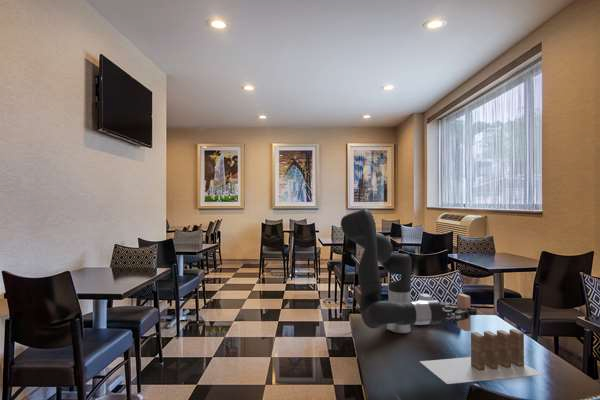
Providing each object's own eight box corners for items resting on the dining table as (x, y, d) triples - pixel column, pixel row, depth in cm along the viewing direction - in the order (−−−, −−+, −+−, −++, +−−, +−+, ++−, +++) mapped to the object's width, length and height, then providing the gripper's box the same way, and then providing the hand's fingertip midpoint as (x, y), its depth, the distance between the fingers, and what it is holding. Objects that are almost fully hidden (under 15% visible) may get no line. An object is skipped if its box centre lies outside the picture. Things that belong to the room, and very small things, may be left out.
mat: (447, 386, 108) (447, 384, 108) (419, 363, 123) (419, 361, 123) (543, 376, 114) (543, 374, 114) (505, 355, 130) (505, 353, 130)
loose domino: (465, 331, 116) (464, 296, 116) (457, 327, 120) (457, 293, 120) (470, 330, 116) (470, 296, 116) (462, 326, 120) (462, 293, 120)
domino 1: (479, 370, 116) (478, 336, 117) (471, 365, 120) (470, 332, 121) (484, 370, 117) (484, 336, 117) (476, 364, 121) (476, 331, 121)
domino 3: (505, 368, 118) (505, 334, 119) (497, 362, 122) (496, 330, 122) (511, 367, 119) (510, 334, 119) (502, 362, 123) (501, 330, 123)
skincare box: (418, 318, 173) (418, 293, 173) (427, 318, 173) (427, 293, 173) (424, 322, 167) (424, 296, 167) (432, 322, 167) (432, 296, 167)
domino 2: (492, 369, 117) (492, 335, 118) (484, 364, 121) (483, 331, 122) (497, 368, 118) (497, 335, 118) (489, 363, 122) (489, 331, 122)
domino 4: (518, 366, 119) (518, 333, 120) (509, 361, 123) (509, 329, 123) (524, 366, 120) (523, 333, 120) (514, 361, 124) (514, 329, 124)
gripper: (436, 306, 108) (486, 303, 112) (412, 295, 122) (458, 292, 126) (436, 331, 108) (486, 328, 111) (412, 317, 122) (458, 314, 125)
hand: (471, 309), depth 118 cm, fingers closed on loose domino, 4 cm apart
